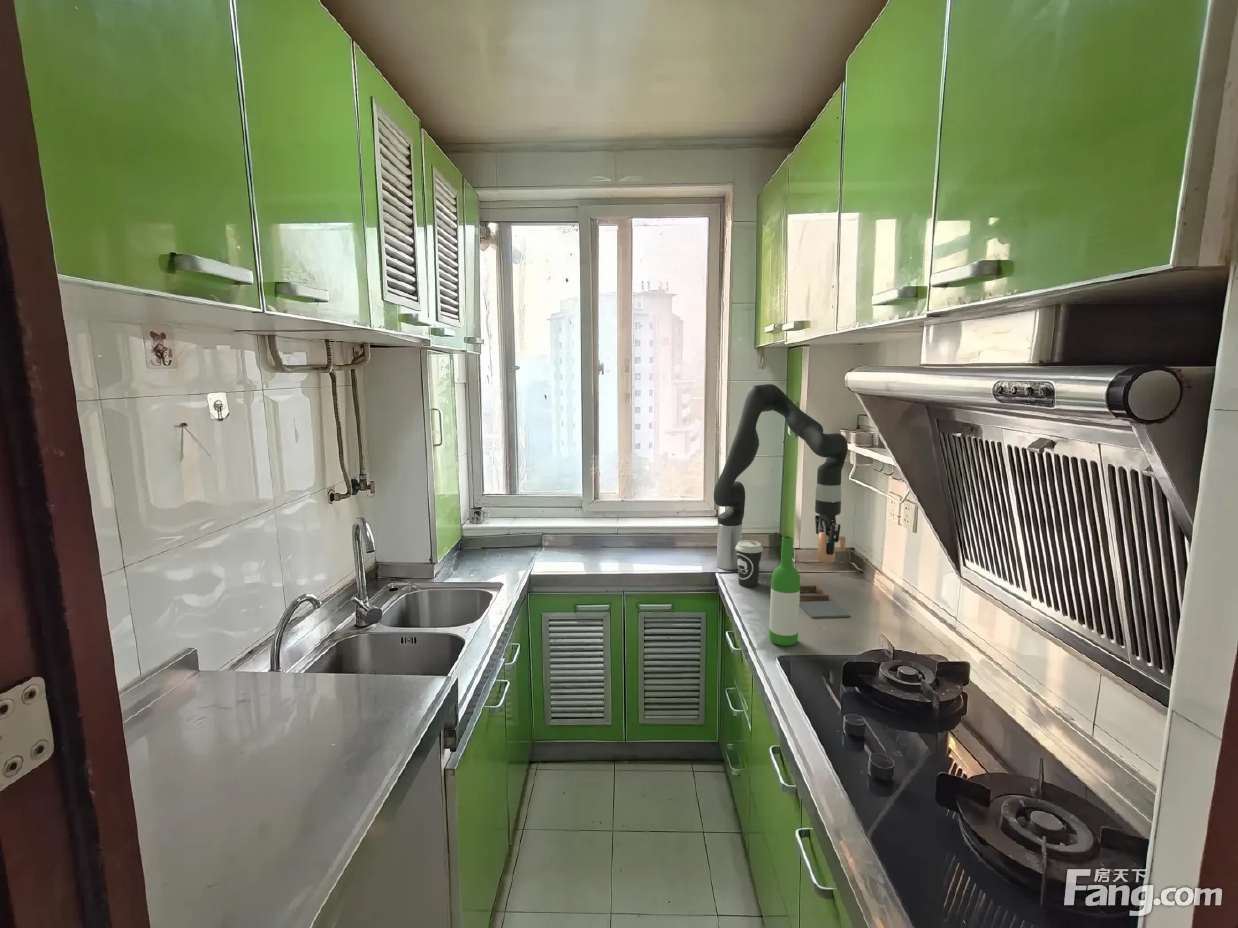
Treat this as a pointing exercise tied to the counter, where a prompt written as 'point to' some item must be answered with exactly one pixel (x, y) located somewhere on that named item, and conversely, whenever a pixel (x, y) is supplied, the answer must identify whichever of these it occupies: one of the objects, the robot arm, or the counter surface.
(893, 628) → the counter surface
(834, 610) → the mat
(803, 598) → the holder
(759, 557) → the coffee cup
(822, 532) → the orange mug
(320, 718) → the counter surface
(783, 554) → the wine bottle
